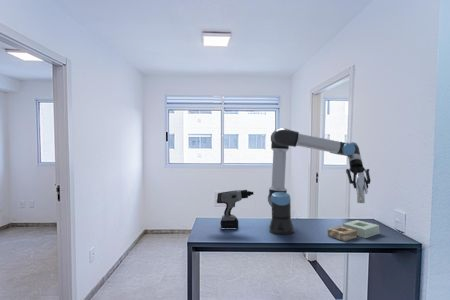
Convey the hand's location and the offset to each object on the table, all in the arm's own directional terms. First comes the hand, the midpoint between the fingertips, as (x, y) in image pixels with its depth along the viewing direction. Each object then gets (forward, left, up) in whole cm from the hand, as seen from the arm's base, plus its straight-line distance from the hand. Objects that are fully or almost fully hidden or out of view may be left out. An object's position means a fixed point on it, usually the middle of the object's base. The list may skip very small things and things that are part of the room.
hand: (362, 192), depth 160 cm
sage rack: (-3, +2, -25) cm, 25 cm away
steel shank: (-3, +3, -7) cm, 8 cm away
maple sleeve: (-5, -13, -25) cm, 28 cm away
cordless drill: (-55, -54, -25) cm, 81 cm away
